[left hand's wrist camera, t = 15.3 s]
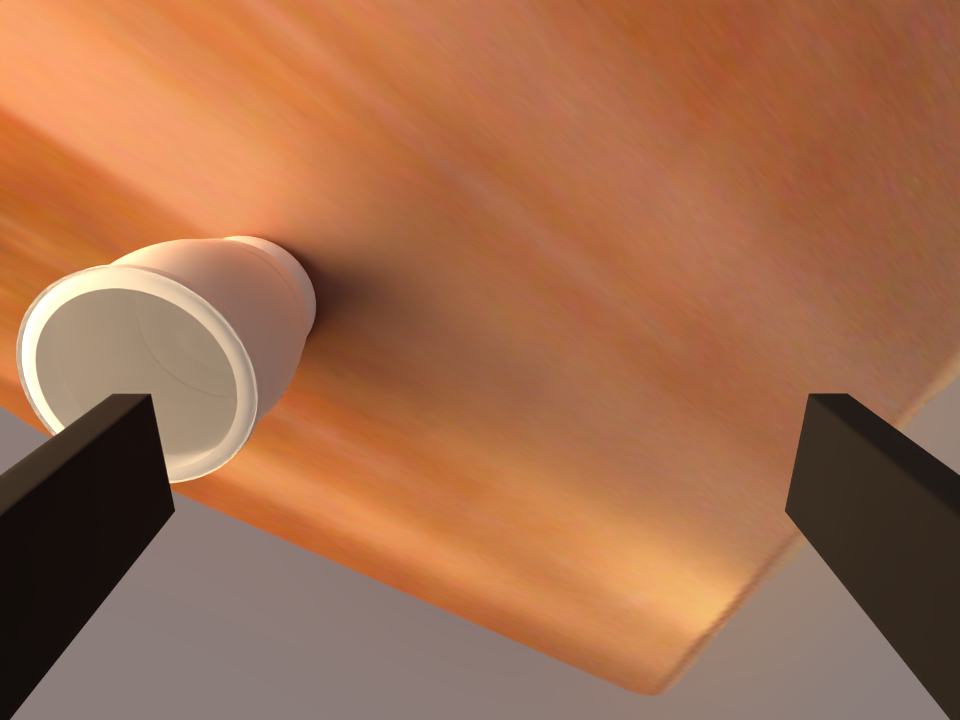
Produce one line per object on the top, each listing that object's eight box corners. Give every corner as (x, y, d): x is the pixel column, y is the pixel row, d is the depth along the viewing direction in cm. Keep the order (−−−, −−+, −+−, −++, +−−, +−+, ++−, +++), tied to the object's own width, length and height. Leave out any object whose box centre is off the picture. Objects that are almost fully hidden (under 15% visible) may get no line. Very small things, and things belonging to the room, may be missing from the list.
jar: (147, 316, 42) (-21, 410, 28) (216, 185, 39) (66, 215, 25) (287, 397, 44) (196, 523, 30) (362, 279, 41) (300, 357, 27)
